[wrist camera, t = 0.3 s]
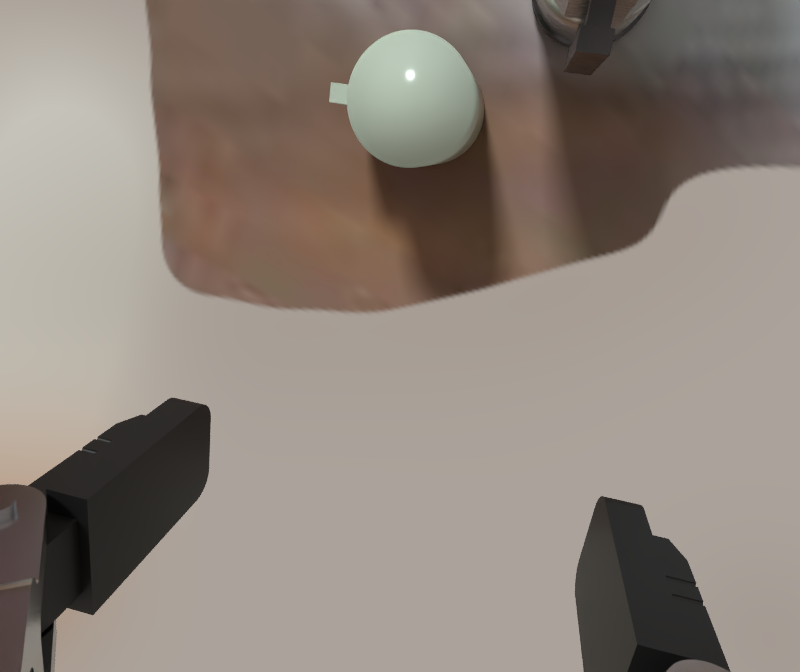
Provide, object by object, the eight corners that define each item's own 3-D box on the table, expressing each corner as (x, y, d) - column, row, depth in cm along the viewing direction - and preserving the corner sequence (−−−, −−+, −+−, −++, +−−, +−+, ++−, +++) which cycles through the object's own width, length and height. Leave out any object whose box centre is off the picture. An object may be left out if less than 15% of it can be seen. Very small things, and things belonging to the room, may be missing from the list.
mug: (367, 48, 37) (323, 18, 29) (492, 64, 36) (484, 38, 28) (356, 152, 39) (311, 153, 31) (474, 171, 38) (461, 176, 30)
